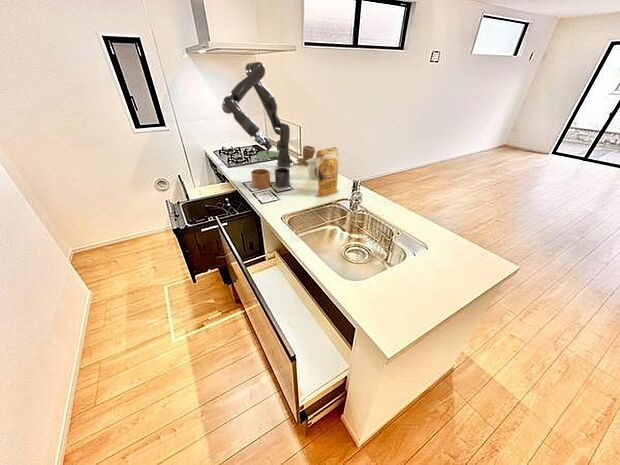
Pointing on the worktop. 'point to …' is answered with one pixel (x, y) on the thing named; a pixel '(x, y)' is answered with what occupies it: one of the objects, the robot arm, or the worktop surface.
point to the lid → (267, 152)
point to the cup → (282, 177)
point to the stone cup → (306, 155)
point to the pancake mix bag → (327, 171)
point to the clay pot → (260, 178)
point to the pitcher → (312, 168)
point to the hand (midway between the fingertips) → (270, 148)
